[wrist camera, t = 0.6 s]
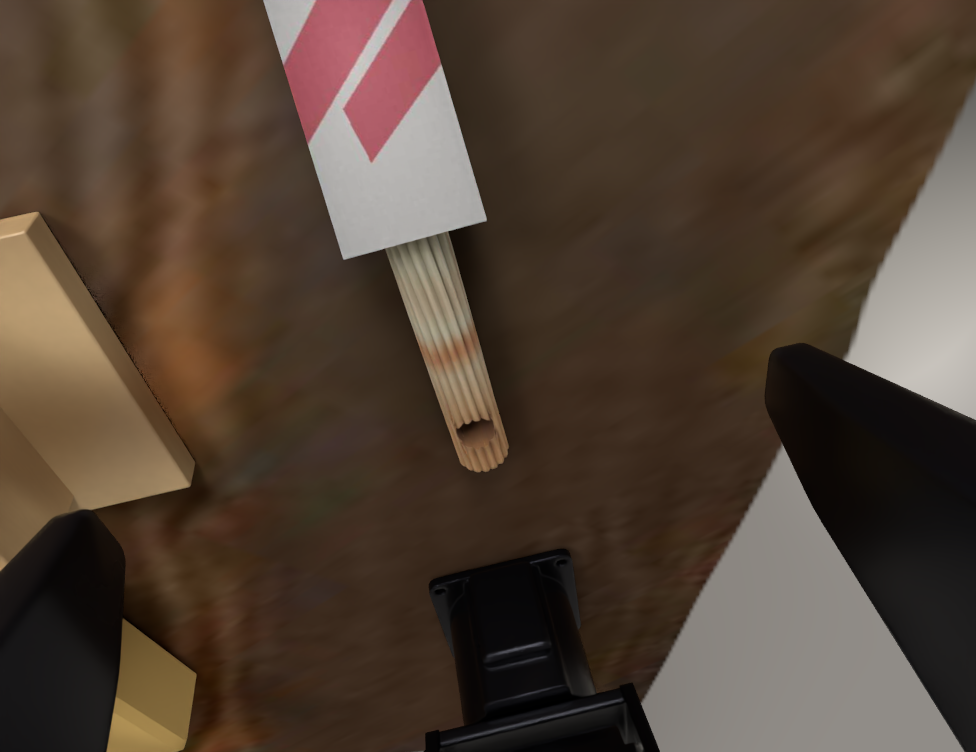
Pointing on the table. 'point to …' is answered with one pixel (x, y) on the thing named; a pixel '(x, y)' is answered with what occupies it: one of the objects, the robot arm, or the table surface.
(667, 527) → the table surface
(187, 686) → the rubber stamp
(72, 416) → the brush rack
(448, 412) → the paintbrush
